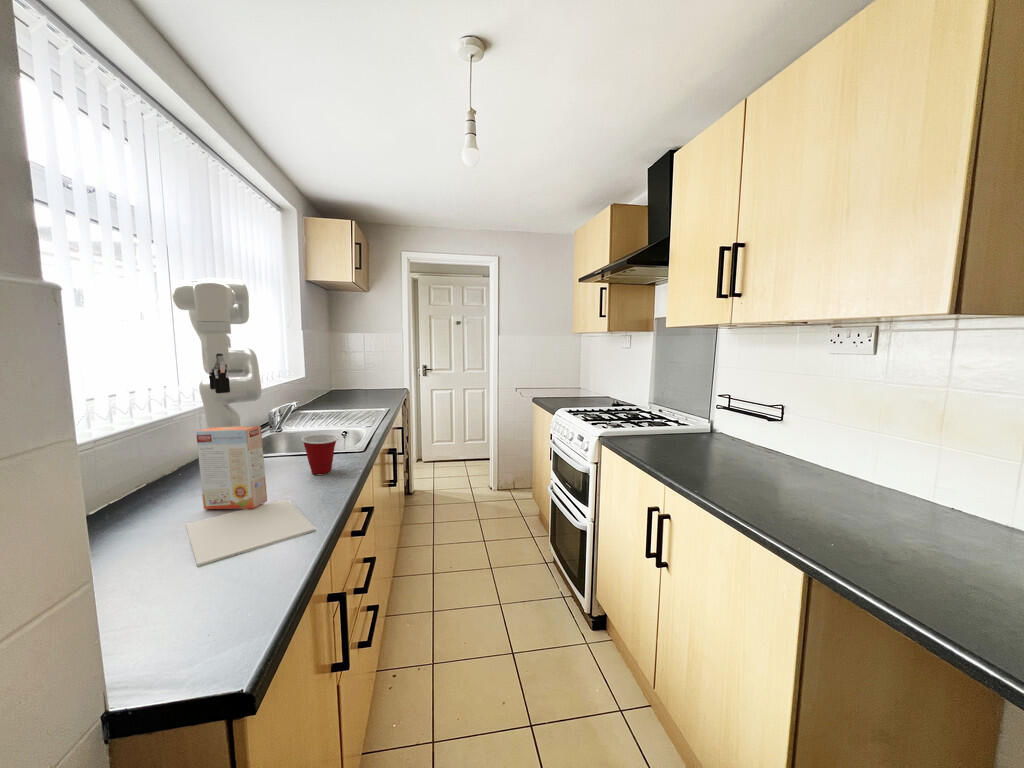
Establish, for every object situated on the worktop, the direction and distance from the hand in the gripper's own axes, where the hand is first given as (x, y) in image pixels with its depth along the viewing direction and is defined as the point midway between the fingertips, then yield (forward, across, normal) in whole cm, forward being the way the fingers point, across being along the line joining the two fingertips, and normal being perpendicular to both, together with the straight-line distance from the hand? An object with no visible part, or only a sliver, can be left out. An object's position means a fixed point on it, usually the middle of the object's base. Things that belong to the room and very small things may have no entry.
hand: (220, 390), depth 115 cm
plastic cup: (+30, -1, +26) cm, 40 cm away
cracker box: (+30, +12, 0) cm, 32 cm away
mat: (+29, +29, 0) cm, 41 cm away
